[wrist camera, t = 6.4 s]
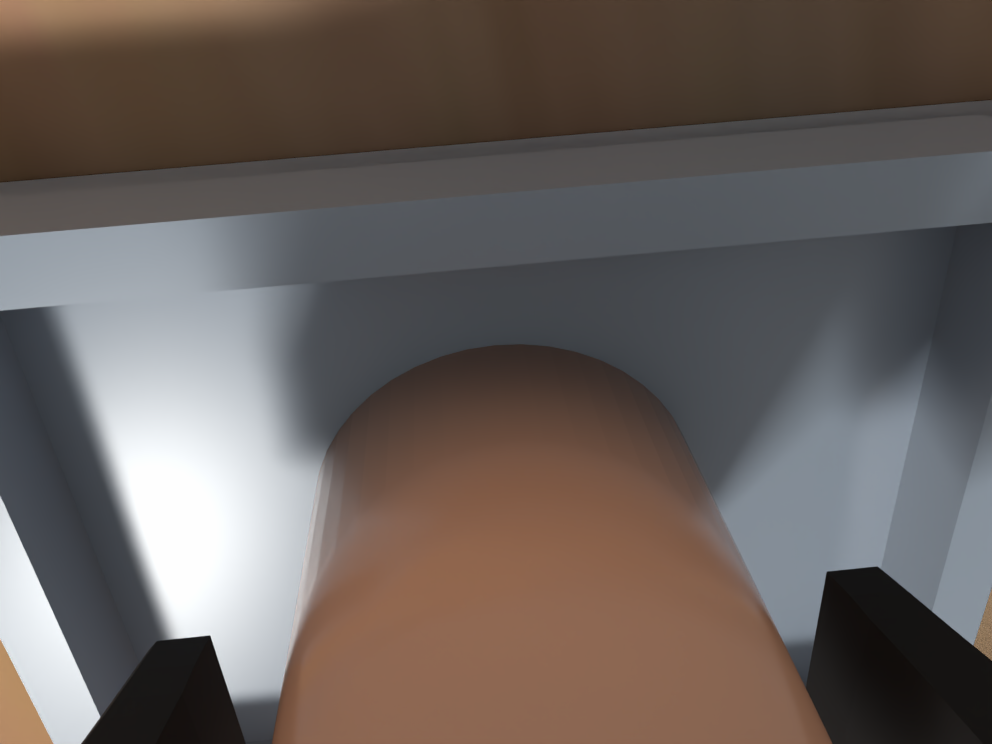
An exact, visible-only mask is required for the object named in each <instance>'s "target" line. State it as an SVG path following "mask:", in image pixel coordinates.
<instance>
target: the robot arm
mask: <svg viewBox="0 0 992 744" xmlns="http://www.w3.org/2000/svg"><path fill="white" fill-rule="evenodd" d="M806 690H807V692H808V694H809V696H810V698H811V700H812V702H813V704H814V706H815V708H816V710H817V712H818V714H819V716H820V719H821V721H822V723H823V725H824V727H825V729H826V731H827V733H828V735H829V737H830V739H831V741H832V743H833V744H992V661H991V660H990V659H989V658H988V657H986V656H985V655H984V654H983V653H982V652H980V651H979V650H978V649H977V648H975V647H974V646H973V645H972V644H971V643H969V642H968V641H967V640H966V639H965V638H963V637H962V636H961V635H960V634H959V633H957V632H956V631H955V630H954V629H952V628H951V627H950V626H949V625H948V624H946V623H945V622H944V621H943V620H942V619H941V618H939V617H938V616H937V615H936V614H935V613H933V612H932V611H931V610H930V609H929V608H927V607H926V606H925V605H924V604H923V603H921V602H920V601H919V600H918V599H917V598H915V597H914V596H913V595H912V594H911V593H909V592H908V591H907V590H906V589H905V588H903V587H902V586H901V585H900V584H899V583H897V582H896V581H895V580H894V579H893V578H891V577H890V576H889V575H888V574H886V573H885V572H884V571H883V570H881V569H880V568H879V567H878V566H876V567H866V568H856V569H847V570H837V571H827V573H826V578H825V584H824V589H823V595H822V600H821V606H820V611H819V617H818V622H817V628H816V633H815V639H814V644H813V650H812V655H811V661H810V666H809V672H808V678H807V683H806ZM81 744H246V743H245V740H244V736H243V733H242V730H241V727H240V724H239V721H238V718H237V715H236V712H235V709H234V706H233V703H232V700H231V697H230V694H229V691H228V688H227V685H226V682H225V679H224V676H223V673H222V670H221V667H220V664H219V661H218V658H217V655H216V651H215V648H214V645H213V642H212V639H211V636H210V635H209V636H199V637H189V638H180V639H170V640H160V641H156V642H155V643H154V645H153V646H152V647H151V648H150V649H149V650H148V652H147V653H146V654H145V656H144V657H143V659H142V660H141V661H140V663H139V664H138V666H137V667H136V668H135V670H134V671H133V672H132V674H131V675H130V677H129V678H128V679H127V681H126V682H125V684H124V685H123V686H122V688H121V689H120V691H119V692H118V693H117V695H116V696H115V698H114V699H113V700H112V702H111V703H110V705H109V706H108V707H107V709H106V710H105V712H104V713H103V714H102V716H101V717H100V719H99V720H98V721H97V723H96V724H95V725H94V727H93V728H92V729H91V731H90V732H89V734H88V735H87V736H86V738H85V739H84V740H83V742H82V743H81Z"/></svg>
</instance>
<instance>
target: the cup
mask: <svg viewBox="0 0 992 744" xmlns="http://www.w3.org/2000/svg"><path fill="white" fill-rule="evenodd" d="M272 744H833V743H832V741H831V739H830V737H829V735H828V733H827V731H826V729H825V727H824V725H823V723H822V721H821V719H820V716H819V714H818V712H817V710H816V708H815V706H814V704H813V702H812V700H811V698H810V696H809V694H808V692H807V690H806V688H805V685H804V683H803V681H802V679H801V677H800V675H799V673H798V671H797V669H796V667H795V665H794V663H793V661H792V659H791V657H790V654H789V652H788V650H787V648H786V646H785V644H784V642H783V640H782V638H781V636H780V634H779V632H778V630H777V628H776V626H775V624H774V621H773V619H772V617H771V615H770V613H769V611H768V609H767V607H766V605H765V603H764V601H763V599H762V597H761V595H760V593H759V590H758V588H757V586H756V584H755V582H754V580H753V578H752V576H751V574H750V572H749V570H748V568H747V566H746V564H745V562H744V559H743V557H742V555H741V553H740V551H739V549H738V547H737V545H736V543H735V541H734V539H733V537H732V535H731V533H730V531H729V529H728V526H727V524H726V522H725V520H724V518H723V516H722V514H721V512H720V510H719V508H718V506H717V504H716V502H715V500H714V498H713V495H712V493H711V491H710V489H709V487H708V485H707V483H706V481H705V479H704V477H703V475H702V473H701V471H700V469H699V467H698V464H697V462H696V460H695V458H694V456H693V454H692V452H691V450H690V448H689V446H688V444H687V442H686V440H685V438H684V436H683V434H682V432H681V430H680V428H679V427H678V425H677V423H676V421H675V420H674V418H673V416H672V415H671V414H670V412H669V411H668V410H667V409H666V407H665V406H664V405H663V404H662V403H661V401H660V400H659V399H658V398H657V397H656V396H655V395H654V394H652V393H651V392H650V391H649V390H648V389H647V388H646V387H645V386H644V385H643V384H641V383H640V382H638V381H637V380H635V379H634V378H632V377H631V376H629V375H628V374H626V373H625V372H623V371H622V370H620V369H618V368H616V367H614V366H611V365H609V364H607V363H605V362H603V361H601V360H599V359H596V358H593V357H590V356H587V355H584V354H581V353H578V352H574V351H570V350H565V349H560V348H555V347H550V346H538V345H525V344H516V345H493V346H487V347H480V348H474V349H467V350H463V351H460V352H456V353H452V354H449V355H445V356H441V357H439V358H436V359H434V360H431V361H429V362H426V363H424V364H421V365H419V366H416V367H414V368H412V369H410V370H409V371H407V372H405V373H403V374H401V375H400V376H398V377H396V378H394V379H392V380H391V381H389V382H388V383H387V384H385V385H384V386H383V387H381V388H380V389H379V390H377V391H376V392H374V393H373V394H372V395H370V396H369V397H368V398H367V399H366V400H365V401H364V402H363V403H362V404H361V405H360V406H359V407H358V408H357V409H356V410H355V411H354V412H353V413H352V414H351V415H350V417H349V418H348V419H347V420H346V422H345V423H344V424H343V426H342V427H341V428H340V429H339V431H338V432H337V434H336V436H335V437H334V439H333V441H332V443H331V445H330V446H329V448H328V450H327V452H326V455H325V457H324V460H323V462H322V465H321V468H320V470H319V475H318V480H317V485H316V490H315V495H314V501H313V507H312V513H311V518H310V524H309V530H308V536H307V542H306V548H305V553H304V559H303V565H302V571H301V577H300V582H299V588H298V594H297V600H296V606H295V612H294V617H293V623H292V629H291V635H290V641H289V646H288V652H287V658H286V664H285V670H284V676H283V681H282V687H281V693H280V699H279V705H278V711H277V716H276V722H275V728H274V734H273V740H272Z"/></svg>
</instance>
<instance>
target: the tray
mask: <svg viewBox="0 0 992 744" xmlns="http://www.w3.org/2000/svg"><path fill="white" fill-rule="evenodd" d="M516 344H525V345H538V346H550V347H555V348H560V349H565V350H570V351H574V352H578V353H581V354H584V355H587V356H590V357H593V358H596V359H599V360H601V361H603V362H605V363H607V364H609V365H611V366H614V367H616V368H618V369H620V370H622V371H623V372H625V373H626V374H628V375H629V376H631V377H632V378H634V379H635V380H637V381H638V382H640V383H641V384H643V385H644V386H645V387H646V388H647V389H648V390H649V391H650V392H651V393H652V394H654V395H655V396H656V397H657V398H658V399H659V400H660V401H661V403H662V404H663V405H664V406H665V407H666V409H667V410H668V411H669V412H670V414H671V415H672V416H673V418H674V420H675V421H676V423H677V425H678V427H679V428H680V430H681V432H682V434H683V436H684V438H685V440H686V442H687V444H688V446H689V448H690V450H691V452H692V454H693V456H694V458H695V460H696V462H697V464H698V467H699V469H700V471H701V473H702V475H703V477H704V479H705V481H706V483H707V485H708V487H709V489H710V491H711V493H712V495H713V498H714V500H715V502H716V504H717V506H718V508H719V510H720V512H721V514H722V516H723V518H724V520H725V522H726V524H727V526H728V529H729V531H730V533H731V535H732V537H733V539H734V541H735V543H736V545H737V547H738V549H739V551H740V553H741V555H742V557H743V559H744V562H745V564H746V566H747V568H748V570H749V572H750V574H751V576H752V578H753V580H754V582H755V584H756V586H757V588H758V590H759V593H760V595H761V597H762V599H763V601H764V603H765V605H766V607H767V609H768V611H769V613H770V615H771V617H772V619H773V621H774V624H775V626H776V628H777V630H778V632H779V634H780V636H781V638H782V640H783V642H784V644H785V646H786V648H787V650H788V652H789V654H790V657H791V659H792V661H793V663H794V665H795V667H796V669H797V671H798V673H799V675H800V677H801V679H802V681H803V683H804V685H805V688H806V683H807V678H808V672H809V666H810V661H811V655H812V650H813V644H814V639H815V633H816V628H817V622H818V617H819V611H820V606H821V600H822V595H823V589H824V584H825V578H826V573H827V571H837V570H847V569H856V568H866V567H876V566H878V567H879V568H880V569H881V570H883V571H884V572H885V573H886V574H888V575H889V576H890V577H891V578H893V579H894V580H895V581H896V582H897V583H899V584H900V585H901V586H902V587H903V588H905V589H906V590H907V591H908V592H909V593H911V594H912V595H913V596H914V597H915V598H917V599H918V600H919V601H920V602H921V603H923V604H924V605H925V606H926V607H927V608H929V609H930V610H931V611H932V612H933V613H935V614H936V615H937V616H938V617H939V618H941V619H942V620H943V621H944V622H945V623H946V624H948V625H949V626H950V627H951V628H952V629H954V630H955V631H956V632H957V633H959V634H960V635H961V636H962V637H963V638H965V639H966V640H967V641H968V642H969V643H971V644H972V645H974V642H975V639H976V635H977V632H978V629H979V626H980V623H981V620H982V616H983V613H984V610H985V607H986V604H987V601H988V598H989V594H990V591H991V588H992V100H985V101H973V102H961V103H949V104H937V105H925V106H913V107H901V108H889V109H877V110H865V111H853V112H841V113H829V114H817V115H805V116H793V117H781V118H769V119H757V120H745V121H733V122H721V123H709V124H697V125H685V126H673V127H661V128H649V129H637V130H625V131H613V132H601V133H589V134H577V135H565V136H553V137H541V138H529V139H517V140H505V141H493V142H481V143H469V144H457V145H445V146H433V147H421V148H409V149H397V150H385V151H373V152H361V153H349V154H337V155H325V156H313V157H301V158H289V159H277V160H265V161H253V162H241V163H229V164H217V165H205V166H193V167H181V168H169V169H157V170H145V171H133V172H121V173H110V174H98V175H86V176H74V177H62V178H50V179H38V180H26V181H14V182H2V183H0V639H1V641H2V643H3V645H4V647H5V649H6V651H7V653H8V655H9V657H10V659H11V661H12V663H13V665H14V667H15V669H16V671H17V672H18V674H19V676H20V678H21V680H22V682H23V684H24V686H25V688H26V690H27V692H28V694H29V696H30V698H31V700H32V702H33V704H34V706H35V708H36V710H37V712H38V714H39V716H40V718H41V720H42V722H43V724H44V726H45V728H46V730H47V732H48V734H49V736H50V737H51V739H52V741H53V743H54V744H81V743H82V742H83V740H84V739H85V738H86V736H87V735H88V734H89V732H90V731H91V729H92V728H93V727H94V725H95V724H96V723H97V721H98V720H99V719H100V717H101V716H102V714H103V713H104V712H105V710H106V709H107V707H108V706H109V705H110V703H111V702H112V700H113V699H114V698H115V696H116V695H117V693H118V692H119V691H120V689H121V688H122V686H123V685H124V684H125V682H126V681H127V679H128V678H129V677H130V675H131V674H132V672H133V671H134V670H135V668H136V667H137V666H138V664H139V663H140V661H141V660H142V659H143V657H144V656H145V654H146V653H147V652H148V650H149V649H150V648H151V647H152V646H153V645H154V643H155V642H156V641H160V640H170V639H180V638H189V637H199V636H209V635H210V636H211V639H212V642H213V645H214V648H215V651H216V655H217V658H218V661H219V664H220V667H221V670H222V673H223V676H224V679H225V682H226V685H227V688H228V691H229V694H230V697H231V700H232V703H233V706H234V709H235V712H236V715H237V718H238V721H239V724H240V727H241V730H242V733H243V736H244V740H245V743H246V744H272V740H273V734H274V728H275V722H276V716H277V711H278V705H279V699H280V693H281V687H282V681H283V676H284V670H285V664H286V658H287V652H288V646H289V641H290V635H291V629H292V623H293V617H294V612H295V606H296V600H297V594H298V588H299V582H300V577H301V571H302V565H303V559H304V553H305V548H306V542H307V536H308V530H309V524H310V518H311V513H312V507H313V501H314V495H315V490H316V485H317V480H318V475H319V470H320V468H321V465H322V462H323V460H324V457H325V455H326V452H327V450H328V448H329V446H330V445H331V443H332V441H333V439H334V437H335V436H336V434H337V432H338V431H339V429H340V428H341V427H342V426H343V424H344V423H345V422H346V420H347V419H348V418H349V417H350V415H351V414H352V413H353V412H354V411H355V410H356V409H357V408H358V407H359V406H360V405H361V404H362V403H363V402H364V401H365V400H366V399H367V398H368V397H369V396H370V395H372V394H373V393H374V392H376V391H377V390H379V389H380V388H381V387H383V386H384V385H385V384H387V383H388V382H389V381H391V380H392V379H394V378H396V377H398V376H400V375H401V374H403V373H405V372H407V371H409V370H410V369H412V368H414V367H416V366H419V365H421V364H424V363H426V362H429V361H431V360H434V359H436V358H439V357H441V356H445V355H449V354H452V353H456V352H460V351H463V350H467V349H474V348H480V347H487V346H493V345H516Z"/></svg>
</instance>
